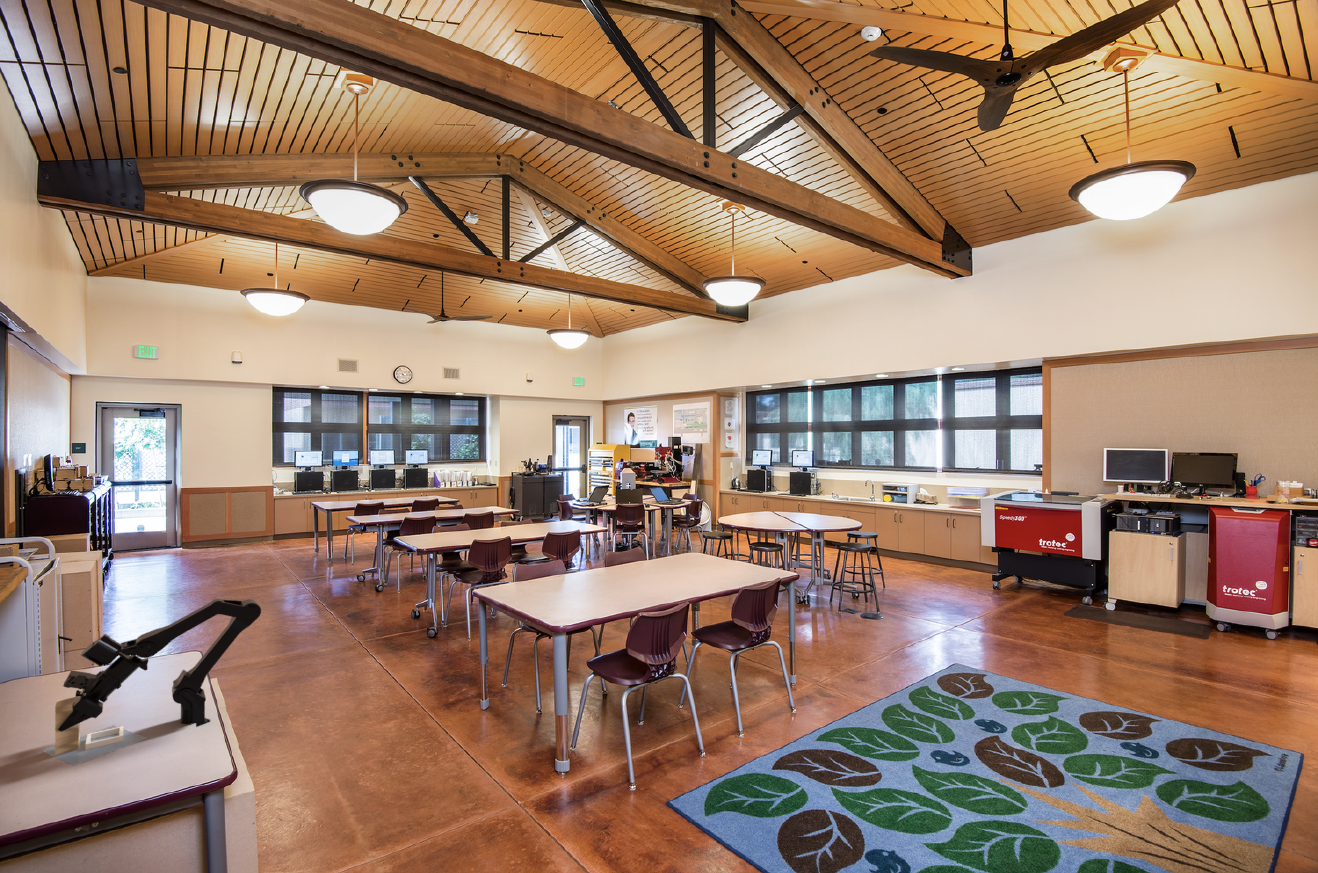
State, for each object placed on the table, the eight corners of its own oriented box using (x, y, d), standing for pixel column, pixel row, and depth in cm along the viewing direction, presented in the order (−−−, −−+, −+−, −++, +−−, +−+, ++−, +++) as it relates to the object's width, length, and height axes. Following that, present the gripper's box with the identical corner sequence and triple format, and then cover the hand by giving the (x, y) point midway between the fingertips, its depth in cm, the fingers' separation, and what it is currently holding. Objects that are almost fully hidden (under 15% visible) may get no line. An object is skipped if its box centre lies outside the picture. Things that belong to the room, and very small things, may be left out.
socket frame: (123, 731, 177) (123, 725, 177) (122, 741, 171) (122, 735, 171) (87, 739, 172) (87, 734, 172) (85, 750, 166) (85, 744, 166)
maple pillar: (79, 743, 170) (79, 696, 170) (78, 749, 166) (78, 701, 166) (57, 748, 167) (57, 700, 167) (55, 755, 163) (55, 706, 163)
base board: (147, 742, 172) (147, 738, 172) (74, 770, 158) (74, 765, 158) (113, 729, 180) (113, 725, 180) (40, 755, 166) (40, 750, 166)
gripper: (89, 650, 176) (35, 699, 169) (85, 669, 162) (25, 723, 155) (126, 671, 181) (74, 719, 174) (124, 691, 167) (68, 745, 160)
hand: (60, 726), depth 166 cm, fingers open, 6 cm apart
